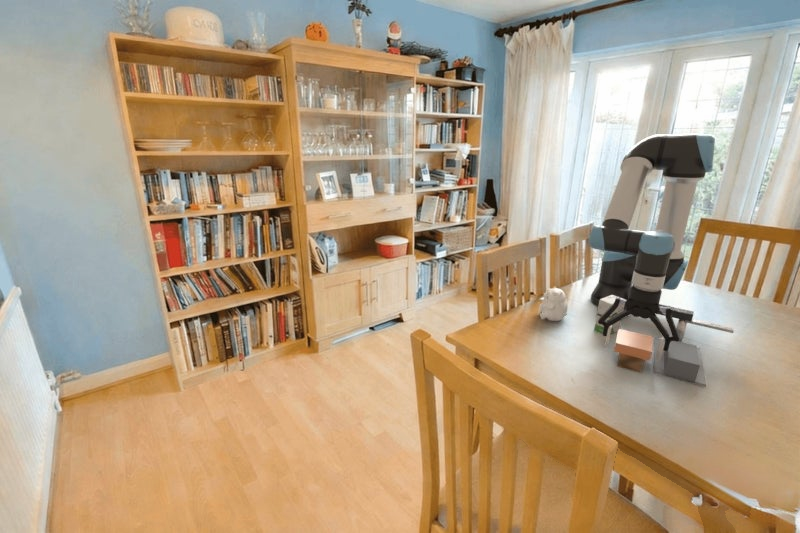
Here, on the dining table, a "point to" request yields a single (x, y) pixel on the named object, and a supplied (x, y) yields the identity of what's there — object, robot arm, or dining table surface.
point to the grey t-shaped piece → (691, 321)
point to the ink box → (603, 307)
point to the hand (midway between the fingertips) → (631, 352)
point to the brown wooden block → (630, 362)
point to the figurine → (553, 305)
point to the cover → (634, 344)
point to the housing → (680, 362)
